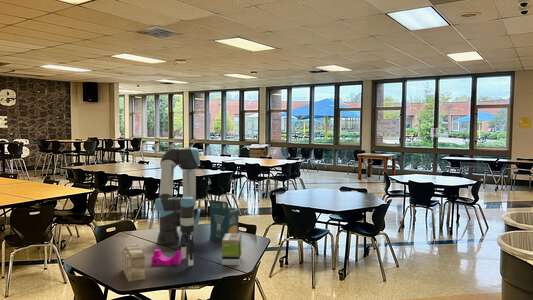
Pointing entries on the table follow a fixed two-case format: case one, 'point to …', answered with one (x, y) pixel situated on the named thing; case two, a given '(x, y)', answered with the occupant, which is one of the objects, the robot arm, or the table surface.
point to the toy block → (165, 258)
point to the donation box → (222, 220)
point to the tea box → (231, 249)
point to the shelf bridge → (133, 262)
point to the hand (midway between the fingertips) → (187, 261)
